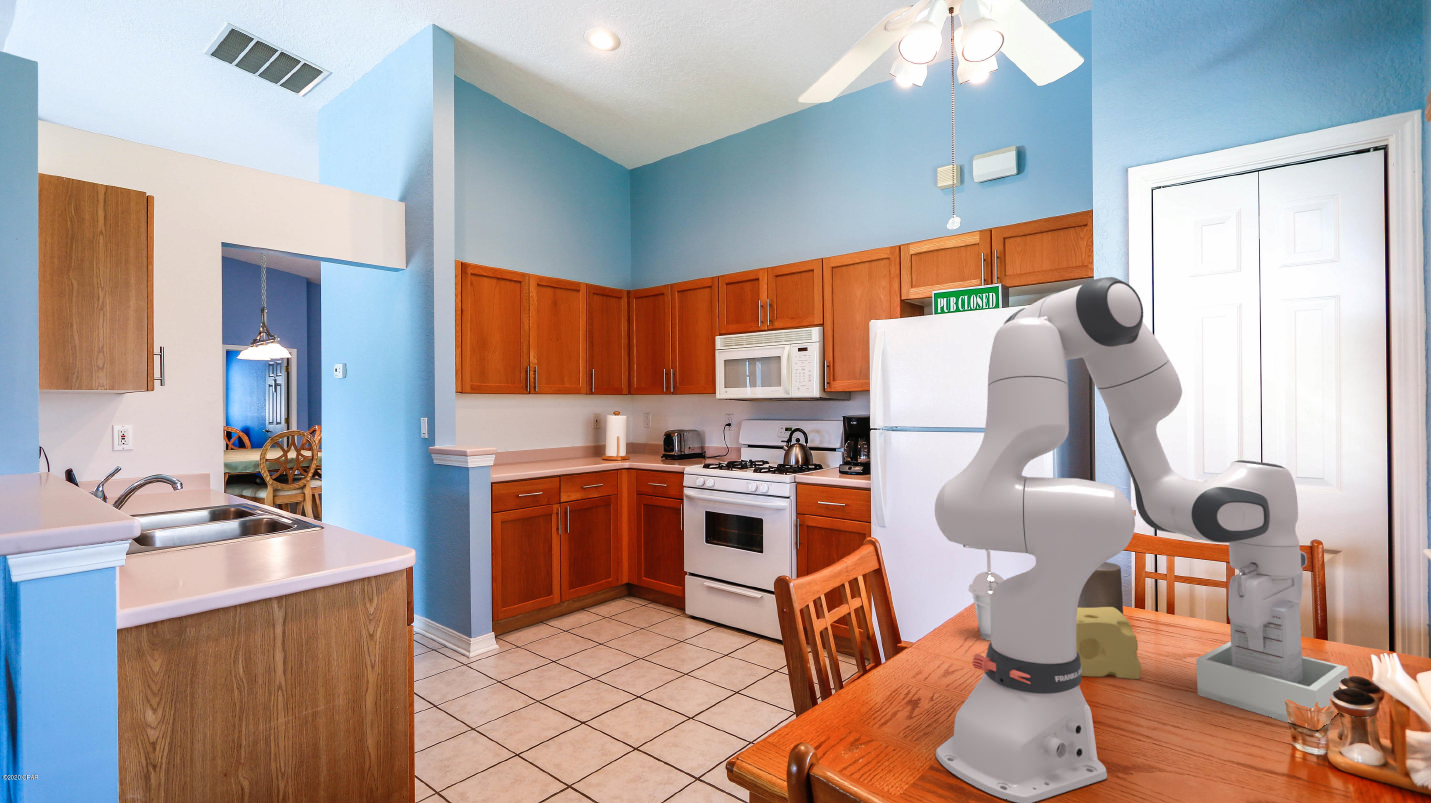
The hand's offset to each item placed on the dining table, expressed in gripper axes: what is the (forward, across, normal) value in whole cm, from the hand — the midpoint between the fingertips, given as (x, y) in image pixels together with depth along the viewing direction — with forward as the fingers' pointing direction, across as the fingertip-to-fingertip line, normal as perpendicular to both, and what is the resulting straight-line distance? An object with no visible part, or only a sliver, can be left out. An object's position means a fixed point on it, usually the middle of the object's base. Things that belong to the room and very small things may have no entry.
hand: (1267, 642), depth 104 cm
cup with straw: (+9, -11, +44) cm, 46 cm away
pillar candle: (+10, +13, +34) cm, 37 cm away
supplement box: (+6, 0, 0) cm, 6 cm away
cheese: (+10, -9, +23) cm, 26 cm away
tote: (+9, 0, 0) cm, 9 cm away
